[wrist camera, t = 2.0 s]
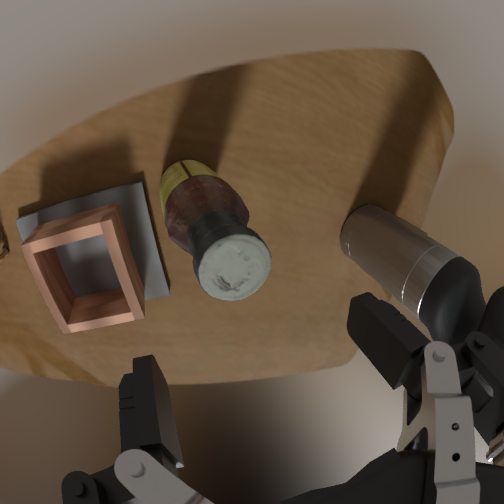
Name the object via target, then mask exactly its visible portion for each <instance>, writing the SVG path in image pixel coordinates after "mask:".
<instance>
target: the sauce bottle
mask: <svg viewBox="0 0 504 504" xmlns="http://www.w3.org/2000/svg"><path fill="white" fill-rule="evenodd" d="M159 193H160V199H161V206H162V212H163V217H164V222H165V225H166V228H167V230H168V234H169V238H170V239H171V240H173V241H174V242H175V243H176V244H177V245H178V246H179V247H181V248H182V249H183V250H184V251H186V252H188V253H190V254H191V255H192V256H193V268H194V272H195V274H196V277H197V279H198V281H199V283H200V285H201V287H202V288H203V289H204V291H205V292H206V293H207V294H209V295H210V296H213V297H215V298H217V299H221V300H230V301H234V300H240V299H243V298H246V297H248V296H250V295H251V294H253V293H254V292H256V291H257V290H258V289H259V288H260V287H261V286H262V285H263V284H264V282H265V280H266V278H267V277H268V275H269V272H270V269H271V260H272V259H271V254H270V251H269V249H268V247H267V245H266V244H265V243H264V241H263V240H262V239H261V237H260V236H259V235H258V234H257V233H255V231H253V230H252V229H250V228H248V227H247V223H248V221H249V211H248V209H247V208H246V206H245V204H244V202H243V200H242V199H241V197H240V196H239V195H238V193H237V192H236V191H235V190H233V189H232V187H231V186H230V185H229V184H228V183H227V182H226V181H224V180H223V179H222V178H221V177H220V176H218V175H217V174H216V173H215V172H213V171H212V170H211V169H210V168H208V167H207V166H206V165H204V164H203V163H201V162H199V161H195V160H180V161H177V162H175V163H173V164H172V165H171V166H169V167H168V169H167V170H166V171H165V172H164V174H163V175H162V178H161V181H160V186H159Z"/></svg>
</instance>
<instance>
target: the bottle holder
mask: <svg viewBox="0 0 504 504" xmlns="http://www.w3.org/2000/svg"><path fill="white" fill-rule="evenodd" d="M16 223H17V226H18V229H19V232H20V235H21V238H22V240H23V243H22V245H21V248H22V251H23V253H24V256H25V258H26V261H27V263H28V265H29V268H30V270H31V272H32V274H33V277H34V279H35V281H36V283H37V285H38V287H39V289H40V291H41V293H42V295H43V297H44V299H45V301H46V303H47V305H48V307H49V309H50V311H51V313H52V315H53V316H54V318H55V320H56V322H57V323H58V325H59V327H60V329H61V330H62V332H63V334H67V333H72V332H77V331H83V330H88V329H93V328H98V327H103V326H109V325H113V324H118V323H123V322H128V321H133V320H138V319H142V318H145V301H146V300H151V299H155V298H159V297H164V296H168V295H170V290H169V287H168V284H167V280H166V277H165V273H164V269H163V266H162V262H161V258H160V255H159V251H158V247H157V243H156V239H155V235H154V231H153V227H152V223H151V219H150V214H149V210H148V205H147V201H146V196H145V191H144V186H143V182H142V181H138V182H133V183H129V184H125V185H121V186H117V187H114V188H110V189H106V190H102V191H99V192H95V193H92V194H88V195H85V196H81V197H78V198H74V199H71V200H68V201H65V202H62V203H58V204H55V205H52V206H49V207H46V208H43V209H40V210H37V211H35V212H32V213H29V214H26V215H23V216H21V217H18V218H17V219H16Z"/></svg>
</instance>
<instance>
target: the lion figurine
mask: <svg viewBox="0 0 504 504" xmlns="http://www.w3.org/2000/svg"><path fill="white" fill-rule="evenodd" d="M2 235H3V233H2V232H1V231H0V242H1V240H2V238H3V236H2ZM8 255H9V251H8V250H7V249H6V248H4V249H3V251H2V253H1V254H0V264H1V262H2V261H3V260H4V258H5V257H8Z"/></svg>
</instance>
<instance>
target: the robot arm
mask: <svg viewBox="0 0 504 504" xmlns="http://www.w3.org/2000/svg"><path fill="white" fill-rule="evenodd" d="M340 239H341V247H342V250H343V252H344V253H345V254H346V255H347V256H348V257H349V258H350V259H351V260H353V261H354V262H355V263H356V264H357V265H359V266H360V267H361V268H362V269H363V270H364V271H365V272H367V273H368V274H369V275H370V276H371V277H372V278H373V279H375V280H376V281H377V282H378V283H379V284H380V285H381V286H383V287H384V288H385V289H386V290H387V291H388V292H389V293H390V294H392V295H393V296H394V297H395V298H396V299H397V300H398V301H399V302H400V303H402V304H403V305H404V306H405V307H406V308H407V309H408V310H409V311H411V312H412V313H413V314H414V315H415V316H416V317H417V318H418V319H419V320H420V321H421V322H422V323H423V324H424V325H425V326H426V327H427V328H428V330H429V332H430V335H431V337H432V339H433V342H431V341H430V340H429V339H428V338H427V337H425V336H424V335H423V334H422V333H421V332H420V331H419V330H418V329H417V328H416V327H415V326H414V325H413V324H412V323H411V322H410V321H409V320H407V319H406V317H404V315H402V314H400V312H399V311H398V310H397V309H396V308H395V307H394V306H393V305H391V304H389V303H387V302H385V301H383V300H378V299H377V298H376V297H375V296H374V295H373V294H371V293H370V292H366V293H364V294H361V295H358V296H356V297H353V298H352V299H351V302H350V308H349V314H348V320H347V330H348V333H349V335H350V337H351V338H352V340H353V341H354V342H355V343H356V345H357V346H358V347H359V348H360V349H361V351H362V352H363V353H364V354H365V355H366V356H367V358H368V359H369V360H370V361H371V363H372V364H373V365H374V366H375V368H376V369H377V370H378V371H379V373H381V375H382V376H383V377H384V379H385V380H386V381H387V382H388V384H389V385H390V386H391V387H392V389H393V390H394V389H396V388H398V387H399V386H401V385H403V386H404V387H405V390H404V396H403V397H404V399H403V427H402V432H401V435H400V438H399V441H398V445H397V451H396V450H395V448H393V449H391V450H390V451H388V452H386V453H385V454H383V455H382V456H380V457H378V458H376V459H374V460H373V461H371V462H369V464H367V465H366V466H365V467H364V468H363V469H362V470H361V471H359V472H358V473H357V474H356V475H355V476H353V477H352V478H351V479H350V480H349V481H348V482H346V483H343V484H340V485H335V486H331V487H326V488H321V489H315V490H311V491H308V492H306V493H303V494H300V495H298V496H295V497H292V498H290V499H287V500H284V501H281V502H280V504H504V286H503V287H501V288H499V289H497V290H496V291H495V292H494V293H493V294H492V296H491V298H490V300H489V302H488V304H487V305H486V303H485V300H484V297H483V294H482V288H481V280H480V275H479V272H478V270H477V268H476V267H475V266H474V265H473V264H472V263H470V262H469V261H467V260H466V259H464V258H463V257H461V256H460V255H458V254H457V253H455V252H453V251H452V250H450V249H449V248H447V247H446V246H444V245H442V244H441V243H439V242H437V241H436V240H434V239H433V238H431V237H429V236H428V234H427V233H426V232H424V231H423V230H421V229H419V228H417V227H416V226H414V225H412V224H411V223H409V222H407V221H405V220H404V219H402V218H400V217H398V216H396V215H395V214H393V213H391V212H389V211H387V210H383V209H381V208H379V207H377V206H375V205H364V206H362V207H359V208H358V209H357V210H355V211H354V212H353V213H352V214H351V215H350V216H349V218H348V219H347V220H346V222H345V224H344V226H343V229H342V232H341V238H340ZM119 400H120V401H119V409H120V412H119V417H120V435H121V453H120V456H119V457H118V458H117V459H116V462H115V463H114V464H113V465H112V466H111V467H109V468H107V469H104V470H102V471H99V472H97V473H94V474H91V475H88V474H86V473H84V472H81V471H74V472H71V473H69V474H67V475H66V477H65V478H64V479H63V482H62V497H63V504H214V503H212V502H211V501H209V500H207V499H206V498H205V497H203V496H202V495H200V494H199V493H197V492H196V491H194V490H193V489H192V488H190V487H189V486H187V485H186V484H185V483H183V482H182V481H181V480H180V479H179V477H178V473H177V469H176V468H179V467H184V463H183V459H182V455H181V450H180V446H179V441H178V436H177V431H176V426H175V421H174V416H173V410H172V405H171V399H170V393H169V389H168V385H167V382H166V380H165V377H164V375H163V373H162V371H161V370H160V368H159V366H158V363H157V361H156V359H155V357H154V356H153V355H147V356H142V357H137V358H133V373H129V374H124V376H123V378H122V380H121V382H120V385H119ZM474 427H475V428H476V429H477V431H478V432H479V433H480V435H481V436H482V438H483V439H484V440H485V442H486V443H487V444H488V446H489V451H488V452H487V454H486V459H487V460H488V461H493V464H486V463H479V462H475V438H474Z"/></svg>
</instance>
